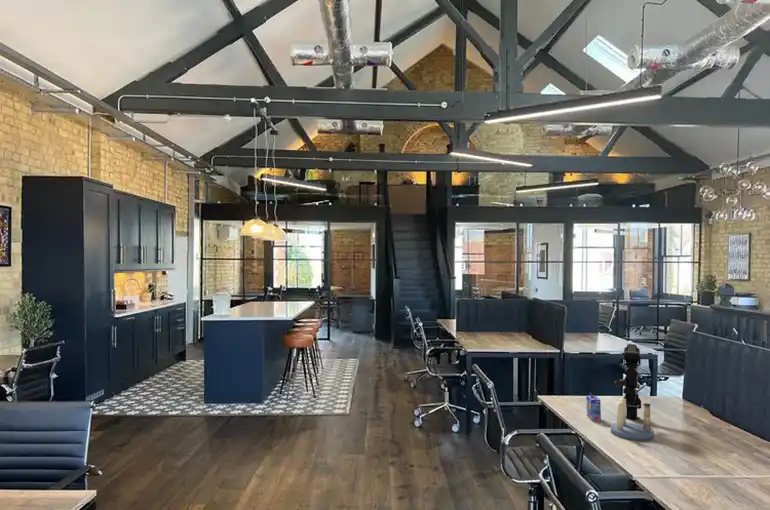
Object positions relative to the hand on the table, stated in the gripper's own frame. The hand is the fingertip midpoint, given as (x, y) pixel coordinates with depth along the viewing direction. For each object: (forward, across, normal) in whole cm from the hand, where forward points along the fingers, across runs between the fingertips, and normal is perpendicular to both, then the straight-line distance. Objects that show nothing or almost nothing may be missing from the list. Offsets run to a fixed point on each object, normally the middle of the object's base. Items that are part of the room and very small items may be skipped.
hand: (631, 404), depth 279 cm
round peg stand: (+12, +15, +2) cm, 19 cm away
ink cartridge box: (+12, -3, -20) cm, 24 cm away
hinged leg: (+8, +15, +9) cm, 19 cm away
